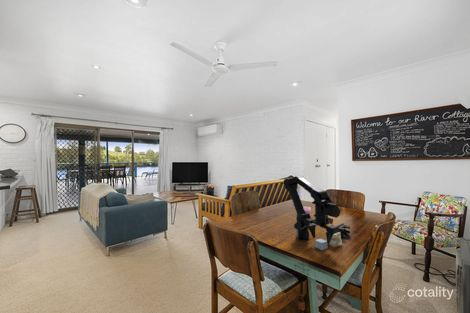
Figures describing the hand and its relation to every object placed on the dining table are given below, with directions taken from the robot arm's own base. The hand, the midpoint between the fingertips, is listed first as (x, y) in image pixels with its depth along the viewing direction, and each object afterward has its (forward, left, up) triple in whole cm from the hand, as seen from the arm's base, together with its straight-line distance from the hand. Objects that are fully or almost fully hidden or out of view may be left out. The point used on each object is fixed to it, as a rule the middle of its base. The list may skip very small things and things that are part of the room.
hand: (321, 240), depth 111 cm
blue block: (0, 0, -4) cm, 4 cm away
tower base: (+9, +4, -4) cm, 11 cm away
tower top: (+9, +4, 0) cm, 10 cm away
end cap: (+20, +16, -4) cm, 26 cm away
